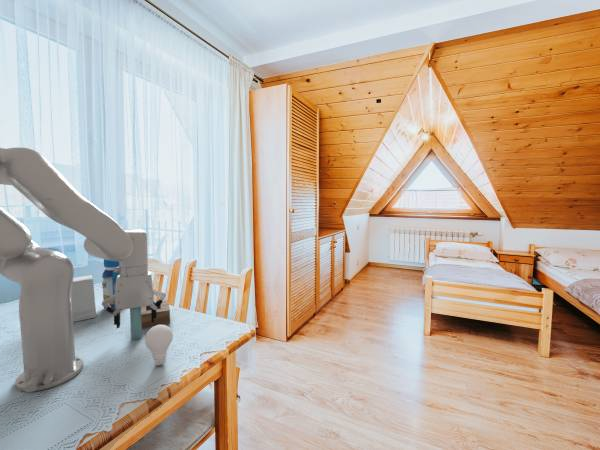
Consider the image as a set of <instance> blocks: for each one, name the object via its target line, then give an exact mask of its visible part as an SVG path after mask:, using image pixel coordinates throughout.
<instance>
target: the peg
mask: <svg viewBox="0 0 600 450" xmlns="http://www.w3.org/2000/svg"><path fill="white" fill-rule="evenodd" d="M129 312H130V313H129V316H130V317H129V318H130V319H129V321H130V339H131V341H137V340H140V339H142V338H143V329H142V320H141V307H138V308H131V309H129Z"/></svg>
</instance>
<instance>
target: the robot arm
mask: <svg viewBox="0 0 600 450" xmlns="http://www.w3.org/2000/svg"><path fill="white" fill-rule="evenodd" d="M0 185H5V186H13V188H14V189H16V190H17V191H18V192H19V193H20V194H22V195H23V196H24V198H26V199H28V201H30V202H31V203H32V205H34V206H35V207H36V208H37V209H38V210H40V211H41V212H42V214H44V215H45V216H46V217H48V218H49V219H51V220H52V221H54V222H55V223H58V224H59V225H60V226H64V227H66V228H69V229H71V230H73V231H75V232H76V233H78V234H79V235H82V237H85V239H84V242H83V248H84V251H85V252H86V253H87V254H89V256H92V257H94V258H99V259H102V260H104V259H107V260H111V261H119V263H120V266H119V267H117V268H114V272H117V273H118V272H119V273H120V275H118V276H117V279H116V288H115V294H114V295H113V296H111V297H109V298H108V299H106V300H104V301H103V300H102V302H101V306H102V308H103V309H104V308H105V309H106V310H105V311H106V312H107V313H110V314H111V315H112V316H113V325H114V326H116V329H119V328H120V327H121V312H120V311H121V310H130V309H131V308H138V307H145V306H150V307H151V317H152V322H154V318H156V309H157V308H158V307H159V306H160V305H161V304H162V302H163V301H165V298H166V297H167V296H166V294H167V293H165V292H162V291H159V290H157V289H154V284H153V283H154V282H153V277H152V273H151V271H149V258H148V257H149V255H148V234H147V232H146V231H145V230H143V229H127V230H125V229H123V228H122V227H121V225H120V224H119V223H118V222H117V221H116V220H115V219H113V218H112V217H110V216H109V214H107V213H106V212H104V211H103V210H101V209H100V208H98V207H97V205H94V203H92V202H90V201H89V200H88V199H86V198H85V197H84V196H82V195H81V193H79V191H78V190H76V189H75V187H74V186H73V185H71V183H70V182H69V181H68V180H67V179H66V178H65V176H63V175H62V174H61V173H60V172H59V171H58V169H56V168H55V167H54V165H52V163H50V162H49V161H48V159H46V158H45V157H44V155H42V154H41V153H40V152H37V151H36V150H33V149H31V148H27V147H19V146H18V147H9V148H3V147H0ZM32 239H33V238H32V234H31V232H30V230H29V229H28V227H27V226H25V224H24V223H22V222H21V221H19V220H18V218H17V219H16V218H15V217H14V216H13V215H11V214H10V213H9V212H8V211H6V210H5V209H4V208H3V207H1V206H0V275H2V276H3V277H4V278H6V279H8V280H10V281H11V282H14V283H16V284H18V285H19V286H20V294H19V300H18V302H19V303H18V315H19V318H18V319H19V323H20V325H19V326H20V337H21V339H20V340H21V351H22V352H21V353H22V362H23V372H21V373H20V374H18V376H17V377H16V379H15V381H14V384H15V387H16V389H17V390H19V391H21V392H22V391H23V392H26V393H33V392H36V391H42V390H47V389H50V388H54V387H56V386H59V385H61V384H63V383H66V382H67V381H69V380H71V379H72V378H74V377H75V376H78V374H79V373H80V372H81V371H82V369H83V367H84V360H83V359H82V358H80V357H78V356H76V352H75V351H76V350H75V349H76V348H75V334H74V333H75V331H74V322H73V313H72V283H73V278H75V277H74V274H75V272H74V265H73V263H72V261H71V259H70V258H69V257H68V256H66V255H65V254H64V253H62V252H60V251H57V250H53V249H50V248H44V247H41V246H40V245H39V244H37V243H36V242H35V241H33V240H32ZM155 296H156V297H159V298H158V299H157V301H154V300H155ZM114 300H115V305H116V308H113V307H112V306H110V304H109V303H110V302H112V301H114ZM155 302H156V303H155Z"/></svg>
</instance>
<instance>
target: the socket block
mask: <svg viewBox="0 0 600 450" xmlns="http://www.w3.org/2000/svg"><path fill="white" fill-rule="evenodd" d="M154 302H155V303H156V302H157V301H154ZM141 320H142V330H143V329H148V328H152V327H154V326H156V325H166V326H167V325H170V324H171V309H170V304H169V300H163V302H162V304H161V305H160V306H159V307H158V308H157V309H156V318H154V322H152V317H151V307H150V306H145V307H141Z"/></svg>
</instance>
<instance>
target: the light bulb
mask: <svg viewBox="0 0 600 450" xmlns="http://www.w3.org/2000/svg"><path fill="white" fill-rule="evenodd" d="M173 335H174V334H173V331H172V329H171V328H170V327H169V326H168V325H167V324H166V325H156V326H154V327H150V329H149V330H148V331H147V332H146V335H145V337H144V344H145V346H146V348H147V349H148V350H149V351H150V353H151V356H152V358H153V365H154V366H157V367H160V366H163V365H164V364H166V360H167V359H166V357H167V353H168V349H169V347H170V345H171V343H172V342H173V338H174V336H173Z"/></svg>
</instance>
